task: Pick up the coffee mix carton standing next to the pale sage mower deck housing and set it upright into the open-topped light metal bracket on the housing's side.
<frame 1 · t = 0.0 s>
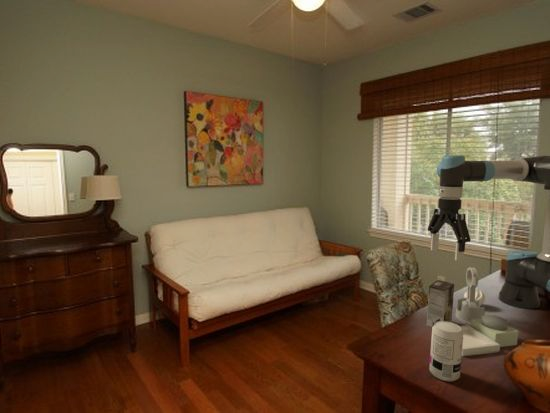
hand: (445, 255, 129), 28 cm above the table, tool pointing down, fingers open, 13 cm apart
deck housing: (465, 343, 121), on the table
coffee box: (439, 324, 134), on the table
supplement can: (444, 374, 103), on the table
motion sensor: (473, 306, 151), on the table
engine component: (469, 317, 140), on the table
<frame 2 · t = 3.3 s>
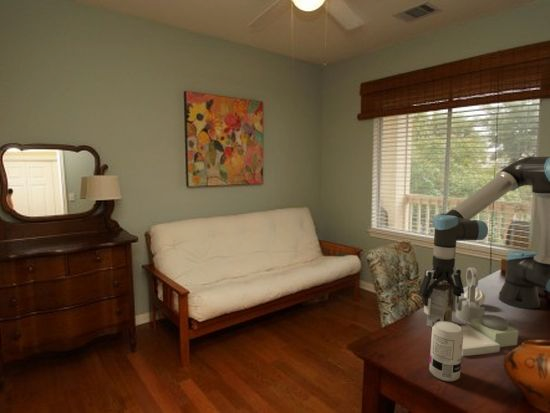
hand: (439, 312, 134), 5 cm above the table, tool pointing down, fingers closed on coffee box, 11 cm apart
coffee box: (438, 324, 134), on the table, touching gripper
everything else where it was.
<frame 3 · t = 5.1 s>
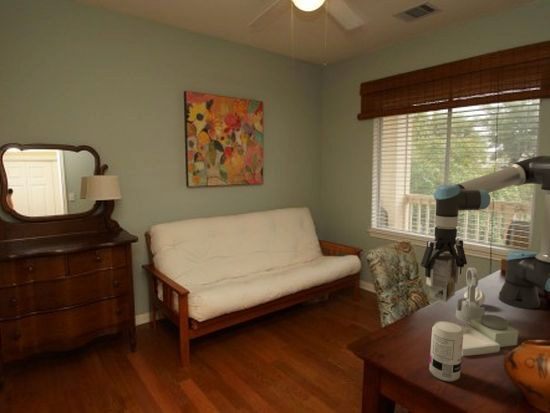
hand: (442, 283, 132), 16 cm above the table, tool pointing down, fingers closed on coffee box, 11 cm apart
coffee box: (441, 296, 133), point 11 cm above the table, touching gripper
everything else where it was.
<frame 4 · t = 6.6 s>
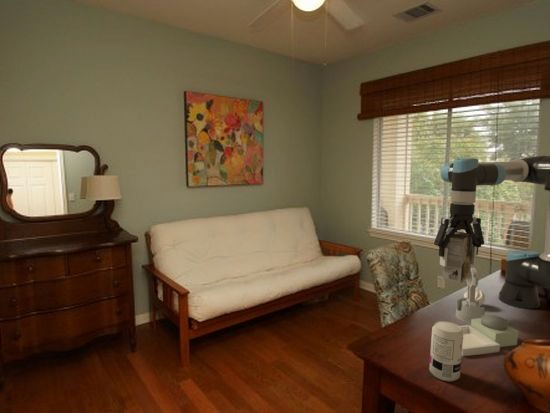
hand: (457, 264, 123), 26 cm above the table, tool pointing down, fingers closed on coffee box, 11 cm apart
coffee box: (456, 278, 124), point 21 cm above the table, touching gripper
everything else where it was.
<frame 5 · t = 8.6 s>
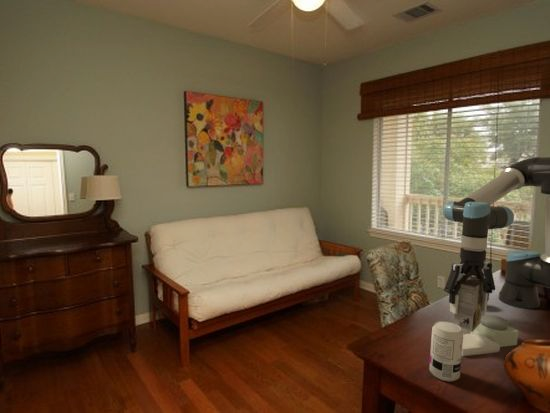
hand: (467, 311, 119), 12 cm above the table, tool pointing down, fingers closed on coffee box, 11 cm apart
coffee box: (466, 325, 120), point 7 cm above the table, touching gripper
everything else where it was.
when the fingers open (7 cm above the table, at t = 10.2 s): coffee box drops 1 cm, resting on deck housing.
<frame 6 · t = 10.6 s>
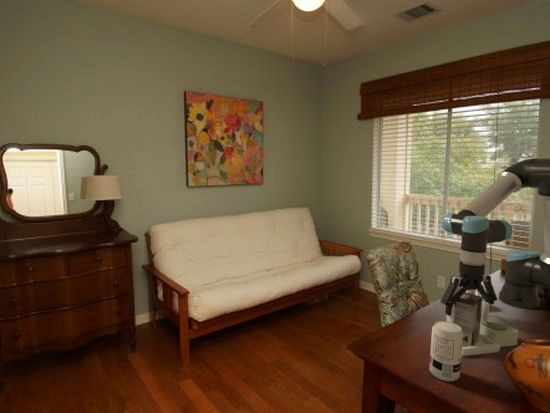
hand: (467, 322, 120), 8 cm above the table, tool pointing down, fingers open, 13 cm apart
coffee box: (465, 342, 121), resting on deck housing
everything else where it was.
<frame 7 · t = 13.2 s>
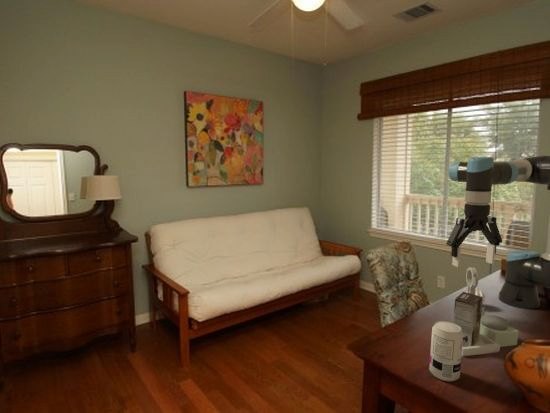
hand: (473, 264, 120), 27 cm above the table, tool pointing down, fingers open, 13 cm apart
nothing on the table moved.
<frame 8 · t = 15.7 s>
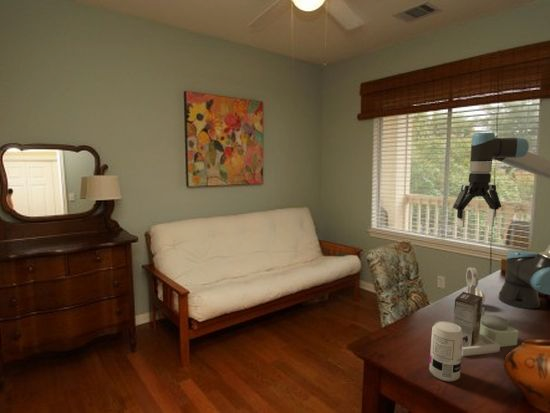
hand: (475, 225, 140), 37 cm above the table, tool pointing down, fingers open, 13 cm apart
nothing on the table moved.
at the end: coffee box 0.1 cm off-centre on the deck housing, point 0.3 cm above the deck housing's base; coffee box tilted 0°; the gripper is holding nothing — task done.
